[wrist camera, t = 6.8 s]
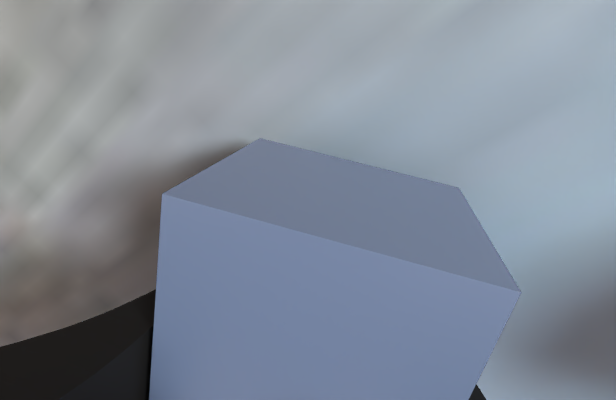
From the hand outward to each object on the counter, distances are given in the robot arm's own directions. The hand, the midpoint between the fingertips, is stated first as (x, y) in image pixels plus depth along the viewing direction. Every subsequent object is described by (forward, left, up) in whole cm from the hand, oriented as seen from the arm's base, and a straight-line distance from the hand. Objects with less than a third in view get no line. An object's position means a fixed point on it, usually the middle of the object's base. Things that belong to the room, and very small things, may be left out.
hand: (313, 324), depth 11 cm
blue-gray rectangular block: (0, 0, -2) cm, 2 cm away
